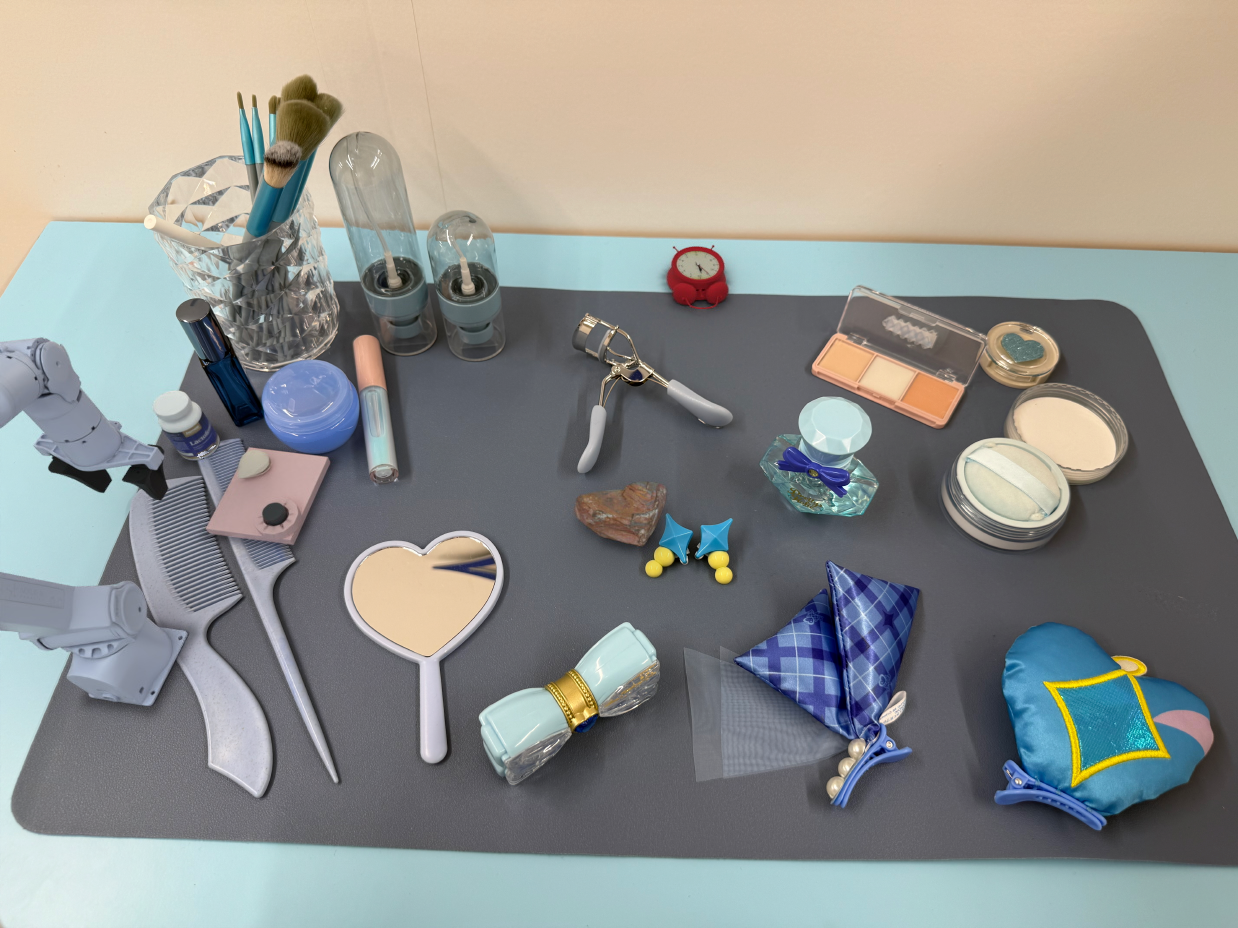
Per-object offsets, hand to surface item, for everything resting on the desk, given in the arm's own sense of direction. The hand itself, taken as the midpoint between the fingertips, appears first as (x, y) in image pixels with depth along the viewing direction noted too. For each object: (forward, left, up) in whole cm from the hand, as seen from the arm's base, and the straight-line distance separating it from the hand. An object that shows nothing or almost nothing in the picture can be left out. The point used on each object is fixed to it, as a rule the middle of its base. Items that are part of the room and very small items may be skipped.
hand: (134, 490), depth 98 cm
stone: (+8, -62, -10) cm, 63 cm away
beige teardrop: (+10, -9, -8) cm, 16 cm away
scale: (+7, -12, -9) cm, 17 cm away
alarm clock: (+60, -68, -10) cm, 91 cm away
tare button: (+3, -16, -7) cm, 17 cm away
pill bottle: (+14, +2, -10) cm, 17 cm away
